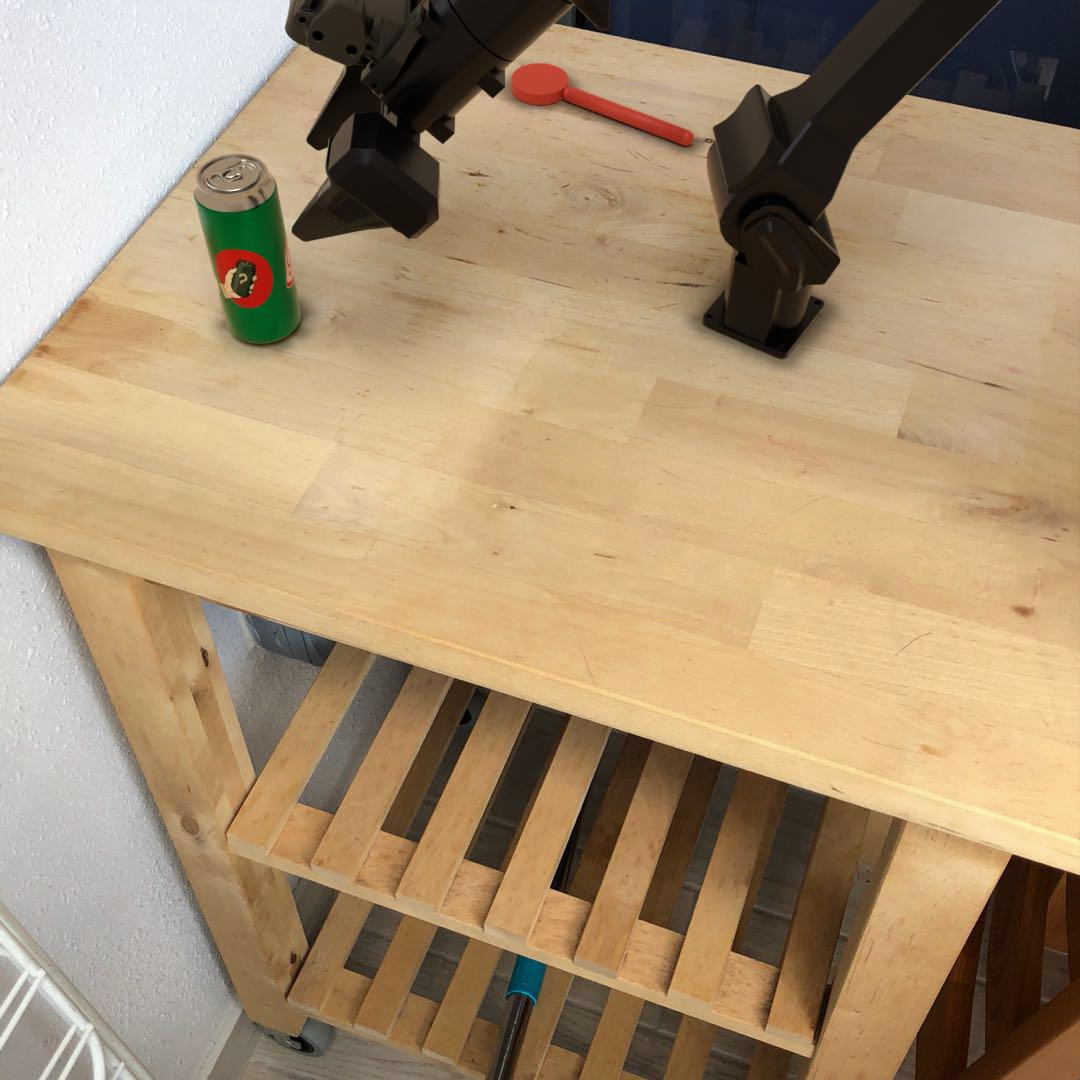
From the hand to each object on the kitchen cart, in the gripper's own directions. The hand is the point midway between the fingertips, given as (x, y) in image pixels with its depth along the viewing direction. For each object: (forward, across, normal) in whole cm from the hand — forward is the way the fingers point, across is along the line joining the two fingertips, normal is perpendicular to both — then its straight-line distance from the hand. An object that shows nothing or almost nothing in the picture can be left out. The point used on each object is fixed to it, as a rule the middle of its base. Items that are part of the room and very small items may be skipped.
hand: (305, 188), depth 73 cm
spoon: (-7, -25, +22) cm, 34 cm away
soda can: (+11, 0, +5) cm, 12 cm away
